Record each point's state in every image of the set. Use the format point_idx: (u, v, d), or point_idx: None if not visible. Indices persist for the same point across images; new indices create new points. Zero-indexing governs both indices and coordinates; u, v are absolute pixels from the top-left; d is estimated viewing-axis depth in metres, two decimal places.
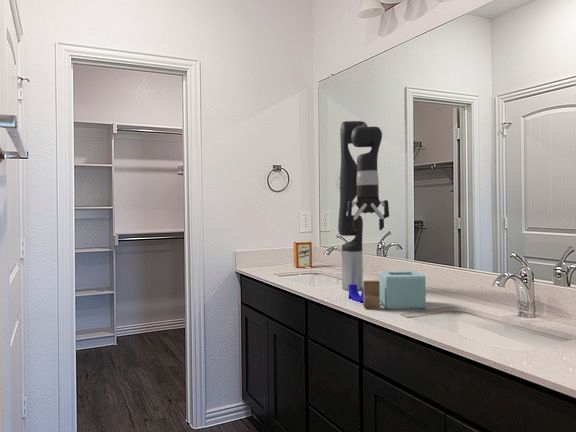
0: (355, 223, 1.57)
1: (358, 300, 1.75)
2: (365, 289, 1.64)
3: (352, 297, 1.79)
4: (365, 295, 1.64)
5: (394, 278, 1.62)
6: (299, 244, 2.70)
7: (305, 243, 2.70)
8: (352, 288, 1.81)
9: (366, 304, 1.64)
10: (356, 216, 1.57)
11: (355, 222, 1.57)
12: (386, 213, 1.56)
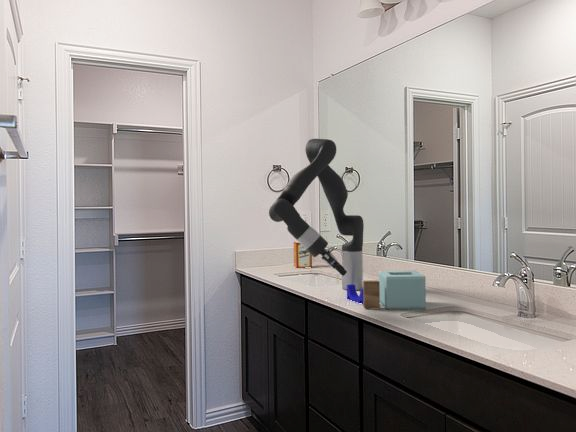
0: None
1: (357, 300, 1.74)
2: (365, 289, 1.64)
3: (350, 297, 1.79)
4: (365, 295, 1.64)
5: (394, 278, 1.62)
6: (299, 244, 2.70)
7: None
8: (350, 288, 1.80)
9: (366, 304, 1.64)
10: None
11: None
12: None
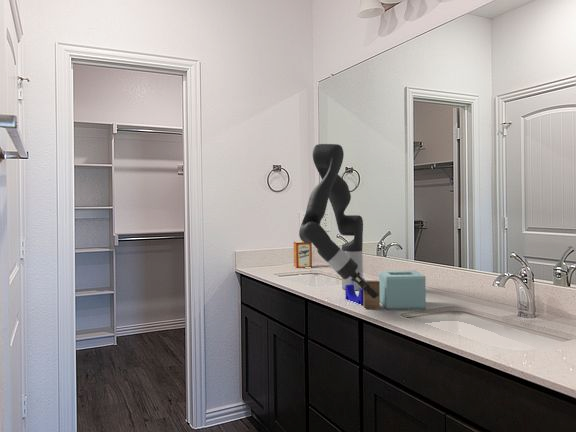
0: None
1: (355, 300, 1.74)
2: None
3: (349, 297, 1.78)
4: (365, 295, 1.64)
5: (394, 278, 1.62)
6: (299, 244, 2.70)
7: (305, 243, 2.70)
8: (349, 288, 1.80)
9: (366, 304, 1.64)
10: None
11: None
12: None
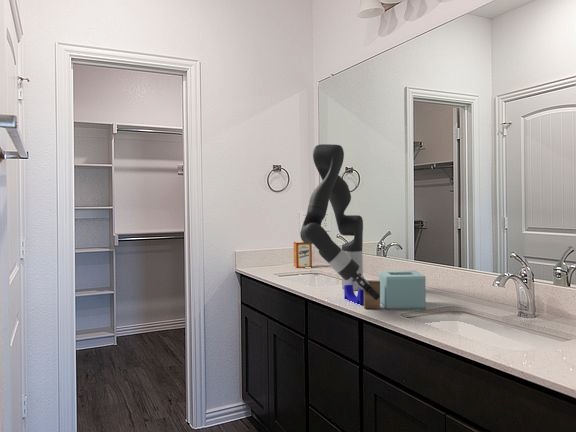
0: None
1: (354, 301, 1.74)
2: (366, 289, 1.64)
3: (348, 298, 1.78)
4: (366, 294, 1.64)
5: (394, 278, 1.62)
6: (299, 244, 2.70)
7: (305, 243, 2.70)
8: (348, 289, 1.80)
9: (366, 304, 1.64)
10: None
11: None
12: None
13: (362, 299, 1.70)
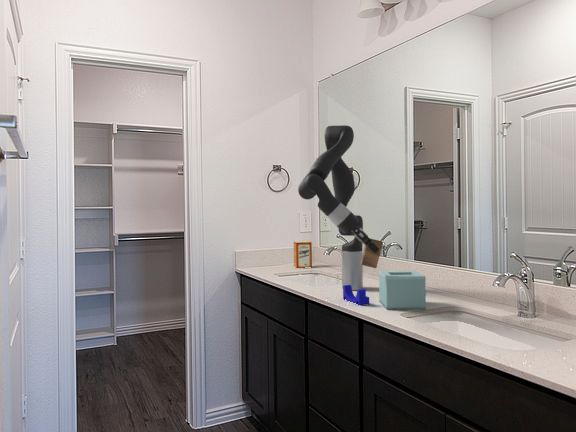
0: None
1: (353, 301, 1.74)
2: None
3: (347, 298, 1.78)
4: (366, 251, 1.64)
5: (394, 278, 1.62)
6: (299, 244, 2.70)
7: (305, 243, 2.70)
8: (347, 289, 1.79)
9: (364, 260, 1.64)
10: None
11: None
12: None
13: (361, 299, 1.70)
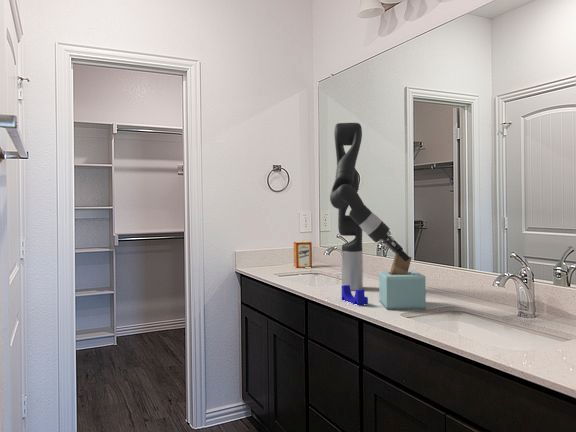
0: None
1: (352, 301, 1.73)
2: (396, 261, 1.67)
3: (345, 298, 1.77)
4: (395, 266, 1.67)
5: (394, 278, 1.62)
6: (299, 244, 2.70)
7: (305, 243, 2.70)
8: (345, 289, 1.79)
9: None
10: (394, 251, 1.70)
11: None
12: (395, 251, 1.66)
13: (359, 299, 1.70)
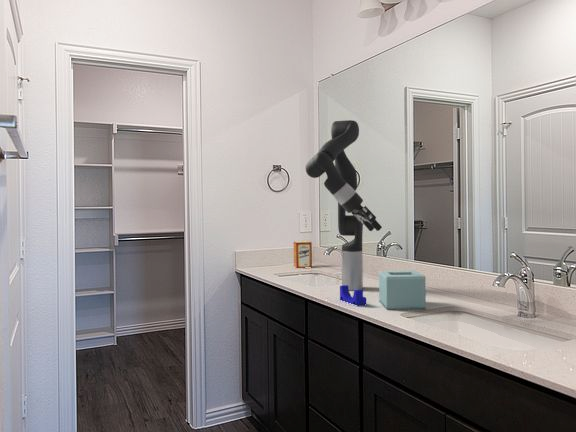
0: None
1: (350, 301, 1.73)
2: None
3: (344, 298, 1.77)
4: None
5: (394, 278, 1.62)
6: (299, 244, 2.70)
7: (305, 243, 2.70)
8: (343, 289, 1.78)
9: None
10: (361, 222, 1.74)
11: None
12: (368, 219, 1.63)
13: (358, 300, 1.69)
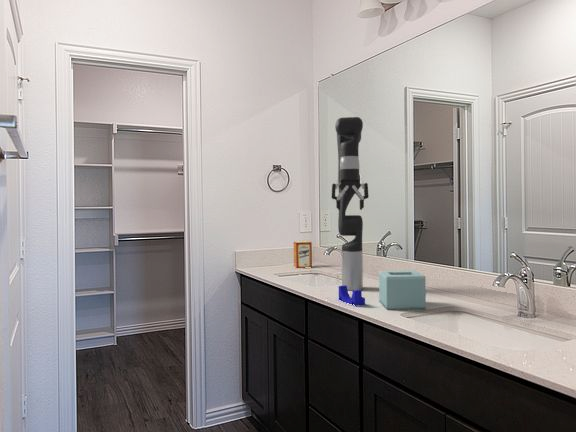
0: (338, 203, 1.76)
1: (349, 302, 1.72)
2: None
3: (342, 299, 1.77)
4: None
5: (394, 278, 1.62)
6: (299, 244, 2.70)
7: (305, 243, 2.70)
8: (342, 289, 1.78)
9: None
10: (339, 197, 1.75)
11: (338, 202, 1.76)
12: (366, 194, 1.75)
13: (357, 300, 1.69)
